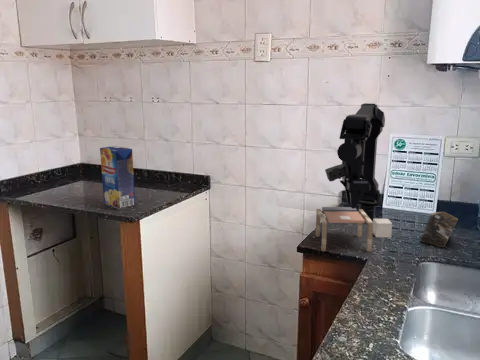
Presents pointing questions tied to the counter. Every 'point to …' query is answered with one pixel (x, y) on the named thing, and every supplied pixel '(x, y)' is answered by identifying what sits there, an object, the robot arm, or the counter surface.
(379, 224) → the limestone block
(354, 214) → the trapdoor
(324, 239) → the frame
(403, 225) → the counter surface
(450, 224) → the rock
